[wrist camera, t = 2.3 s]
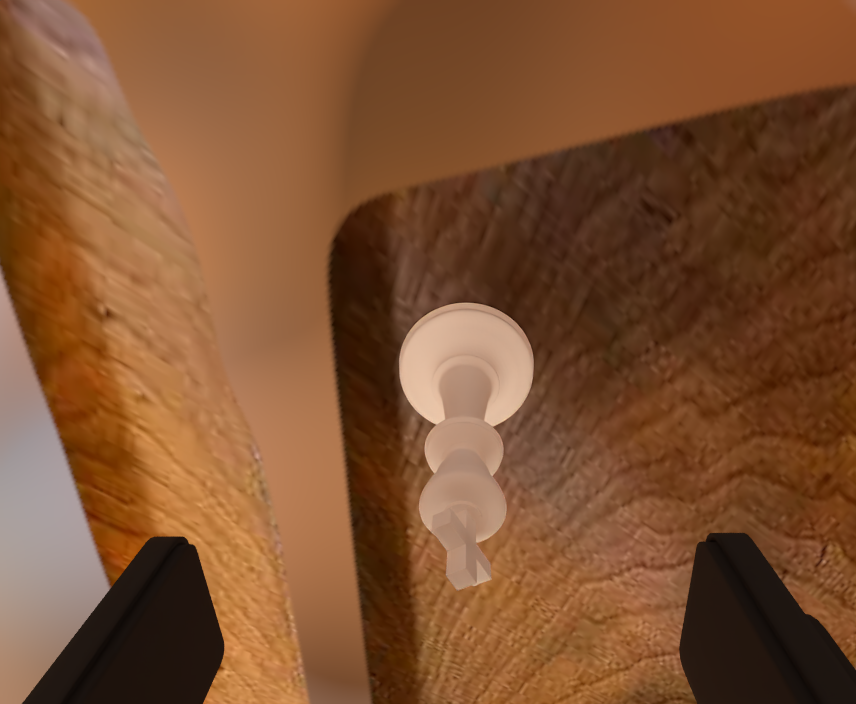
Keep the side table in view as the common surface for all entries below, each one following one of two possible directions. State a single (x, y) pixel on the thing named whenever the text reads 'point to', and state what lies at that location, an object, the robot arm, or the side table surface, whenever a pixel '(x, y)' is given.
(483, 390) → the chess piece
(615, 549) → the side table surface
